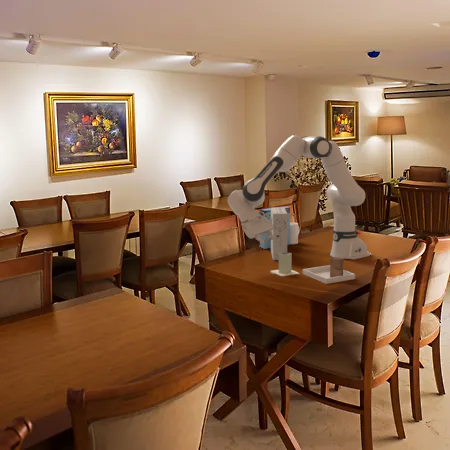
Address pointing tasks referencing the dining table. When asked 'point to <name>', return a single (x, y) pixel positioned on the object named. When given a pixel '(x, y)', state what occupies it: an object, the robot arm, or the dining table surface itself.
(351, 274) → the white tray
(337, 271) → the walnut box
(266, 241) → the light blue carton
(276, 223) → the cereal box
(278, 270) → the pad
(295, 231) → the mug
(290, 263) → the sage box
